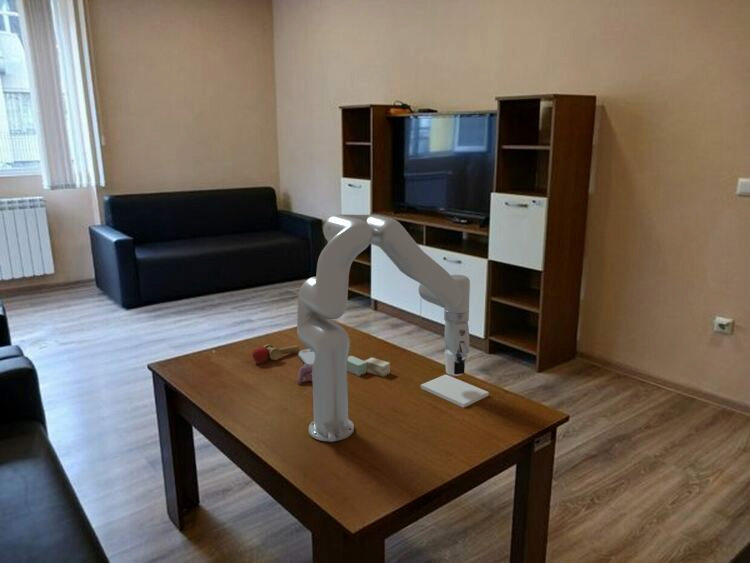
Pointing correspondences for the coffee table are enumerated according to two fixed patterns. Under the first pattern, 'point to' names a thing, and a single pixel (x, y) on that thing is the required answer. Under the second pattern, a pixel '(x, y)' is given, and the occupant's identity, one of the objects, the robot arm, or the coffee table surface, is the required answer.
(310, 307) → the robot arm
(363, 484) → the coffee table surface
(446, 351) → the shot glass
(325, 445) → the coffee table surface
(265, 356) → the kendama
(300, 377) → the video game controller
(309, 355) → the game console
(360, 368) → the sage block
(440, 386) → the ceramic tile
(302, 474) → the coffee table surface
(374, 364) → the birch block
